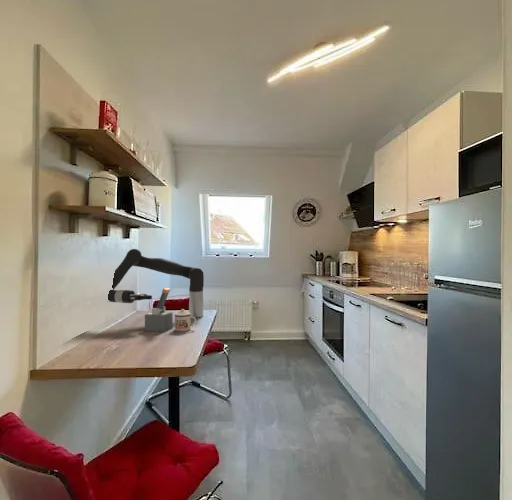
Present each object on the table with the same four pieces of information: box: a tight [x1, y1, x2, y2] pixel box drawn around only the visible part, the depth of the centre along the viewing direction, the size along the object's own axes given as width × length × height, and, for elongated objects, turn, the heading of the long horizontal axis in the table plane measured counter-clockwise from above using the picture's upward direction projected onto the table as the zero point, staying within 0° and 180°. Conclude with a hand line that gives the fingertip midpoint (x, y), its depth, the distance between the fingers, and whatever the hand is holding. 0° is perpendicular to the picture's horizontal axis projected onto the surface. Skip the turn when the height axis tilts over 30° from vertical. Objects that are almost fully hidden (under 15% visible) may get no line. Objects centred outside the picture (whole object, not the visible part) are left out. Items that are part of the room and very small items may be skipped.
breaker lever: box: [156, 287, 171, 312], centre depth 204 cm, size 2×5×15 cm, turn 166°
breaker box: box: [144, 306, 174, 333], centre depth 205 cm, size 12×10×13 cm
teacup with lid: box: [174, 308, 197, 332], centre depth 203 cm, size 12×9×12 cm
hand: (151, 297), depth 206 cm, fingers closed
